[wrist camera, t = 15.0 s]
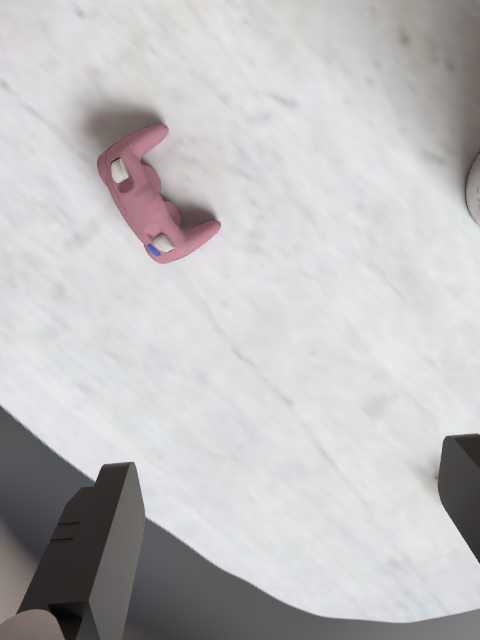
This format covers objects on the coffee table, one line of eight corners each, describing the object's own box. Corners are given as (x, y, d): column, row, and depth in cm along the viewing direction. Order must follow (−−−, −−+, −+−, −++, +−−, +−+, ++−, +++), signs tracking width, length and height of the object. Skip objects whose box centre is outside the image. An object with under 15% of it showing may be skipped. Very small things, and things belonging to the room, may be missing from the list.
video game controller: (128, 143, 34) (72, 163, 29) (167, 115, 32) (114, 131, 27) (189, 246, 38) (149, 281, 32) (228, 228, 35) (192, 262, 30)
